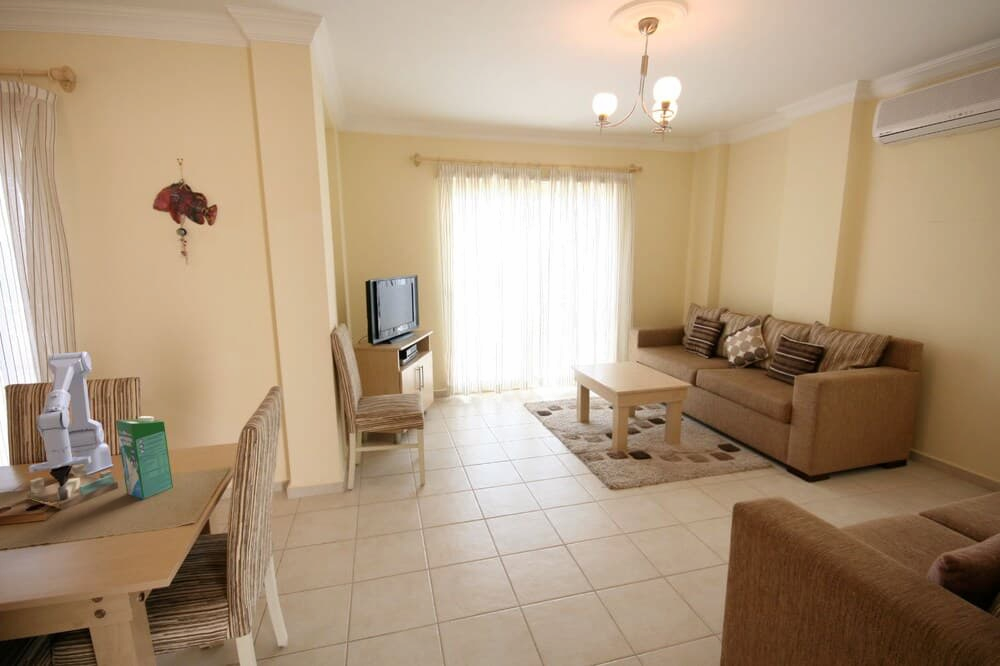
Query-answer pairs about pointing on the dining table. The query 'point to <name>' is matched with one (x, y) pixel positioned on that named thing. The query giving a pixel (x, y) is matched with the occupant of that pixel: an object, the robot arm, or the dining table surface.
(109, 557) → the dining table surface
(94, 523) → the dining table surface
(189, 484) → the dining table surface
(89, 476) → the stool seat
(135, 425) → the milk carton
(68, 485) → the stool leg
